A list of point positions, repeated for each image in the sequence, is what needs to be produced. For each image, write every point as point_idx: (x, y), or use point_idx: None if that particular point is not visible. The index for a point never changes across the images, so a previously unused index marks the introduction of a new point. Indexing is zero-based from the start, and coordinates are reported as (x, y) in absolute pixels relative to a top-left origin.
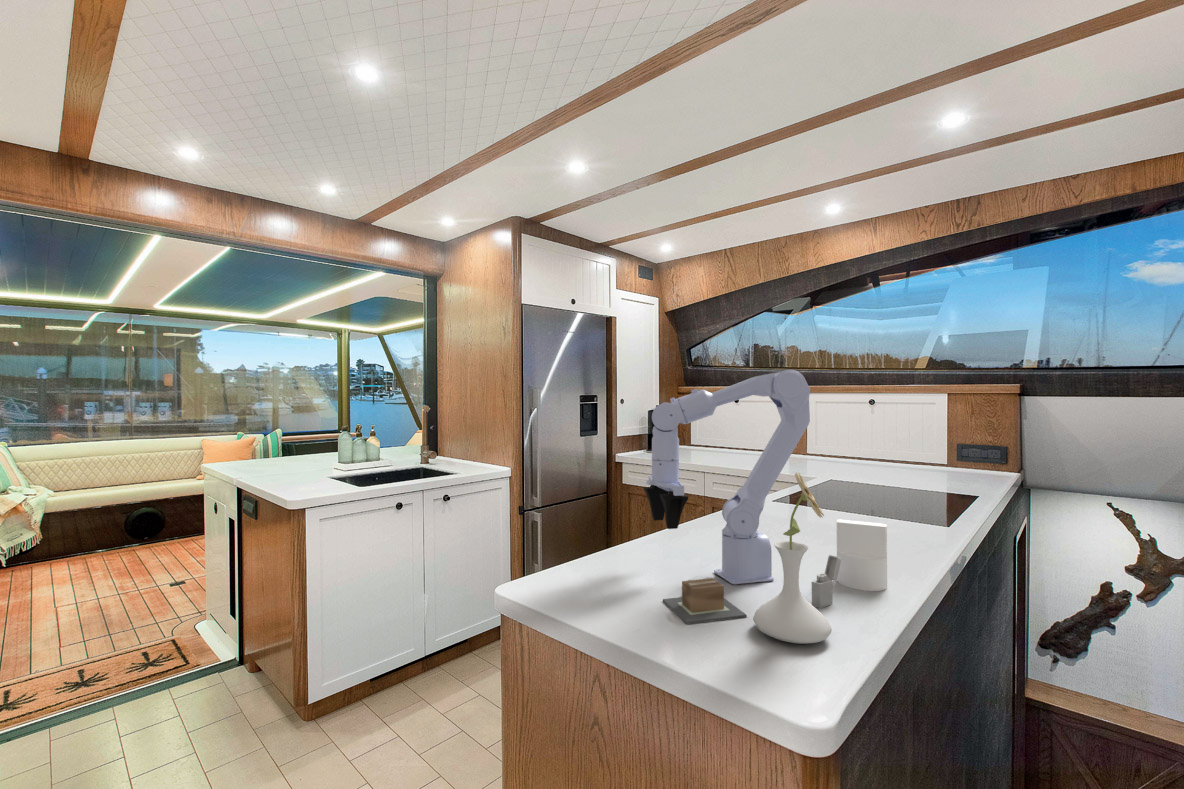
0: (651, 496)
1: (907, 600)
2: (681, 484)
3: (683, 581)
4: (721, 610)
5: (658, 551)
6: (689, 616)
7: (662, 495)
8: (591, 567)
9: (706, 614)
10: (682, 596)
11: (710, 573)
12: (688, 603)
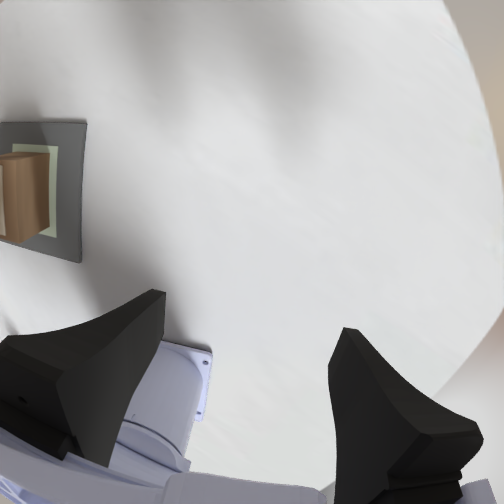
0: (385, 418)
1: None
2: (9, 499)
3: (14, 163)
4: None
5: (429, 331)
6: (9, 138)
7: (4, 357)
8: (417, 73)
9: None
10: (37, 155)
11: (212, 343)
12: (20, 153)
